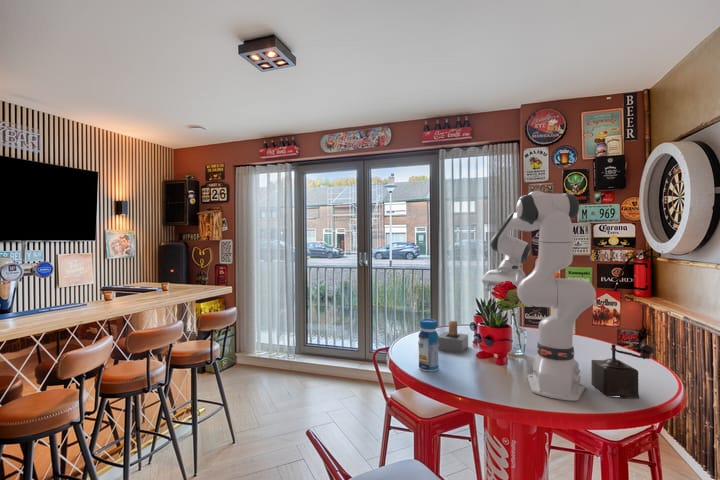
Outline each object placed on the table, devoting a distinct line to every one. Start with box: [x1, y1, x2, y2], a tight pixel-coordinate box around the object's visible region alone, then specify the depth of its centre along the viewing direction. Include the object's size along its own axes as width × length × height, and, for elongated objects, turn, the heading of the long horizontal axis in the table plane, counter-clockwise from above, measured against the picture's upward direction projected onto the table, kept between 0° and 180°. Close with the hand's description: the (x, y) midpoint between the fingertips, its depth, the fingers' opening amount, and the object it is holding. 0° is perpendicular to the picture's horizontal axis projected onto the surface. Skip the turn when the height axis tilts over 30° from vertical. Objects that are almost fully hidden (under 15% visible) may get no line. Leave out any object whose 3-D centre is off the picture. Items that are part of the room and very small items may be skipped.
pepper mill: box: [590, 343, 655, 398], centre depth 123 cm, size 16×11×18 cm
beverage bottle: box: [417, 318, 440, 373], centre depth 147 cm, size 8×8×20 cm
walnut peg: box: [448, 320, 458, 338], centre depth 175 cm, size 4×4×12 cm
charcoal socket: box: [438, 331, 469, 354], centre depth 175 cm, size 12×12×6 cm
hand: (495, 291), depth 170 cm, fingers open, 8 cm apart
